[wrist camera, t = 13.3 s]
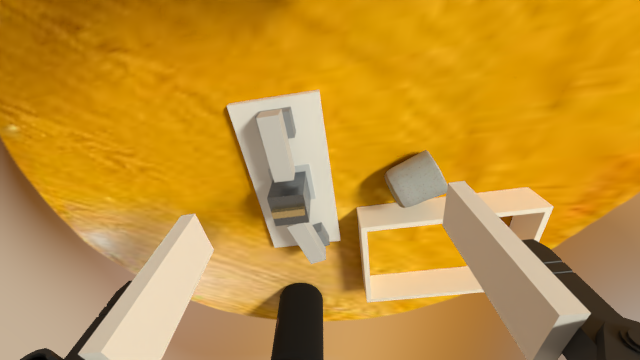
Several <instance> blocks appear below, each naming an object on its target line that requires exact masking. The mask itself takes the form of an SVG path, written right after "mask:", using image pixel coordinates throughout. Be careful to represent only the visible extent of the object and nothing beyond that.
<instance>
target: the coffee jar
mask: <svg viewBox="0 0 640 360" xmlns="http://www.w3.org/2000/svg"><path fill="white" fill-rule="evenodd" d="M271 360H323V298H322V295H321V293H320V292H319V290H318V289H317V288H316V287H314V286H313V285H310V284H307V283H295V284H292V285H290V286H288V287H287V288H286V289H285V290H284V291H283V292H282V294H281V296H280V302H279V309H278V316H277V323H276V329H275V336H274V343H273V350H272V356H271Z"/></svg>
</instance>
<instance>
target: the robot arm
mask: <svg viewBox="0 0 640 360" xmlns="http://www.w3.org/2000/svg"><path fill="white" fill-rule="evenodd" d="M442 226H443V227H444V229H445V230H446V232H447V233H448V235H449V237H450V238H451V240H452V241H453V243H454V245H455V246H456V248H457V249H458V251H459V252H460V254H461V256H462V257H463V259H464V260H465V262H466V264H467V265H468V267H469V268H470V270H471V272H472V273H473V275H474V276H475V278H476V279H477V281H478V283H479V284H480V286H481V287H482V289H483V291H484V292H485V294H486V295H487V297H488V299H489V300H490V302H491V303H492V305H493V306H494V308H495V309H496V311H497V313H498V314H499V316H500V317H501V319H502V321H503V322H504V324H505V326H506V327H507V329H508V330H509V332H510V333H511V335H512V337H513V338H514V340H515V341H516V343H517V344H518V346H519V348H520V349H521V351H522V352H523V354H524V356H525V357H526V359H527V360H558V358H559V357H560V355H561V354H563V355H564V356H565V358H566V359H567V360H640V323H639V322H637V321H633V320H630V319H626V318H623V317H622V316H621V315H619V314H618V313H617V312H616V311H615V310H614V309H613V308H612V307H611V306H610V305H608V304H607V303H606V302H605V301H604V300H603V299H602V298H601V297H600V296H599V295H598V294H597V293H596V292H595V291H594V290H593V289H591V287H590V286H588V285H587V284H586V283H585V282H584V281H583V280H582V279H581V278H580V277H579V276H578V275H577V274H576V273H573V272H572V269H570V268H569V267H568V266H567V265H566V264H565V263H563V262H562V260H561V259H560V258H559V257H558V256H557V255H556V254H555V253H554V252H553V251H552V250H551V249H549V248H548V247H546V246H544V245H543V244H541V243H539V242H538V241H536V240H534V239H527V240H520V239H519V238H518V237H517V235H516V234H515V233H514V232H513V231H512V230H511V229H510V228H509V227H508V226H507V225H506V224H505V223H504V222H503V221H502V220H501V219H500V218H499V217H498V216H497V215H496V214H495V213H494V212H493V210H492V209H491V208H490V207H489V206H488V205H487V204H486V203H485V202H484V201H483V200H482V199H481V198H480V197H479V196H478V195H477V194H476V193H475V192H474V191H473V190H472V189H471V188H470V187H469V186H468V184H467V183H466V182H465V181H460V182H452V183H448V188H447V195H446V202H445V209H444V216H443V223H442ZM213 251H214V249H213V247H212V245H211V243H210V241H209V239H208V238H207V236H206V234H205V232H204V230H203V228H202V226H201V224H200V222H199V220H198V218H197V216H196V215H195V214H189V215H181V217H180V218H179V219H178V221H177V222H176V223H175V225H174V226H173V227H172V229H171V230H170V231H169V233H168V234H167V235H166V237H165V238H164V239H163V241H162V242H161V243H160V245H159V246H158V247H157V249H156V250H155V251H154V253H153V254H152V255H151V257H150V258H149V259H148V261H147V262H146V263H145V265H144V266H143V267H142V269H141V270H140V271H139V273H138V274H137V275H136V277H135V278H134V279H133V281H128V282H127V283H126V284H125V285H124V286H123V287H122V288H120V289H119V290H118V291H117V292H116V293H115V295H114V296H113V297H112V298H111V300H110V301H109V302H108V304H107V306H106V307H104V309H103V310H102V311H101V312H100V314H99V317H97V318H96V319H95V320H94V322H93V323H92V324H91V325H90V327H89V328H88V329H87V330H86V332H85V333H84V334H83V336H82V337H81V338H80V339H79V341H78V342H77V343H76V345H75V346H74V347H73V348H72V350H71V351H70V352H69V354H68V355H67V356H66V357H65V358H64V359H63V358H61V357H60V356H58V355H57V354H55V353H54V352H53V351H51V350H49V349H46V348H44V349H40V350H36V351H34V352H32V353H30V354H28V355H26V356H25V357H23V358H22V359H20V360H161V359H162V357H163V355H164V353H165V350H166V348H167V346H168V344H169V342H170V340H171V338H172V336H173V334H174V332H175V330H176V328H177V326H178V324H179V322H180V319H181V317H182V315H183V313H184V311H185V309H186V307H187V305H188V303H189V301H190V299H191V297H192V295H193V293H194V290H195V288H196V286H197V284H198V282H199V280H200V278H201V276H202V274H203V272H204V270H205V268H206V266H207V264H208V261H209V259H210V257H211V255H212V253H213Z"/></svg>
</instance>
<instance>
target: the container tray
mask: <svg viewBox="0 0 640 360" xmlns="http://www.w3.org/2000/svg"><path fill="white" fill-rule="evenodd" d="M476 194H477V195H478V196H479V197H480V198H481V199H482V200H483V201H484V202H485V203H486V204H487V205H488V206H489V207H490V208H491V209H492V210H493V212H494V213H495V214H496V215H497V216H498V217H505V216H513V217H512V220H511V223H510V226H509V228H510V229H511V230H512V231H513V232H514V233H515V234H516V235H517V237H518V238H519V239H520V240H527V239H534V240H536V241H538V242H539V240H540V238H541V235H542V233H543V231H544V228H545V226H546V224H547V221H548V219H549V216H550V214H551V212H552V209H553V206H552V205H551V204H549V203H548V202H547V201H545V200H544V199H543V198H541V197H540V196H539V195H537V194H536V193H535V192H533V191H532V190H531V189H530V188H528V187H525V188H516V189H508V190H499V191H491V192H482V193H476ZM445 202H446V197H440V198H432V199H429V200H426V201H424V202H421V203H419V204H417V205H414V206H411V207H407V208H402V207H400V206H399V205H398V204H397V203H389V204H380V205H372V206H363V207H357V218H358V229H359V240H360V251H361V262H362V273H363V282H364V287H365V293H366V299H367V302H377V301H388V300H399V299H411V298H422V297H433V296H444V295H456V294H467V293H478V292H484V291H483V289H482V287H481V286H480V284H479V283H478V281H477V279H476V278H475V276H474V275H473V273H472V272H471V270H470V268H469V267H468V266H465V267H455V268H445V269H434V270H424V271H413V272H403V273H393V274H382V275H372V276H370V270H369V255H368V241H367V232H368V231H378V230H387V229H396V228H405V227H414V226H423V225H432V224H441V223H443V216H444V209H445Z"/></svg>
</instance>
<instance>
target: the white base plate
mask: <svg viewBox="0 0 640 360" xmlns="http://www.w3.org/2000/svg"><path fill="white" fill-rule="evenodd" d="M227 109H228V112H229V115H230V118H231V121H232V124H233V127H234V129H235V132H236V135H237V138H238V141H239V144H240V147H241V150H242V153H243V156H244V159H245V162H246V165H247V168H248V171H249V174H250V177H251V179H252V182H253V185H254V188H255V191H256V194H257V197H258V200H259V203H260V206H261V209H262V212H263V215H264V218H265V221H266V224H267V227H268V229H269V232H270V235H271V238H272V241H273V244H274V247H275V248H277V247H286V246H296V245H299V246H300V248H301V249H302V251H303V252H304V254H305V255H306V257H307V258H308V260H309V261H310V263H311V264H313V263H316V262H320V261H323V260H326V248H325V246H327V245H330V243H329V242H333V241H341V240H340V231H339V224H338V218H337V211H336V204H335V197H334V190H333V183H332V176H331V169H330V162H329V155H328V148H327V141H326V134H325V127H324V120H323V113H322V106H321V99H320V92H319V90H313V91H307V92H300V93H294V94H287V95H281V96H275V97H268V98H262V99H255V100H249V101H242V102H236V103H230V104H228V105H227ZM302 171H306V176H307V181H308V186H309V191H310V196H311V201H310V220H309V222H308V223H300V224H291V225H282V226H275V223H274V220H273V217H272V214H271V210H270V207H269V204H268V200H267V197H268V193H269V190H270V187H271V184H272V181H273V180H274V183H275V182H283V181H291V180H294V176H295V172H302Z"/></svg>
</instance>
